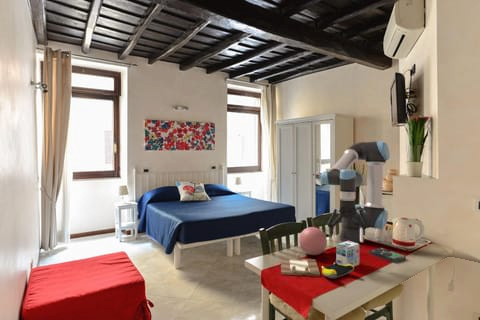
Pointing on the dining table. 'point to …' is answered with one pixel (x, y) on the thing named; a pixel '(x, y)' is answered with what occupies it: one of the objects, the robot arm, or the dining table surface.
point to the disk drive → (387, 255)
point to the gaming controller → (337, 270)
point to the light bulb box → (347, 253)
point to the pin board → (299, 266)
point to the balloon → (312, 241)
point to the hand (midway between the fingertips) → (347, 241)
